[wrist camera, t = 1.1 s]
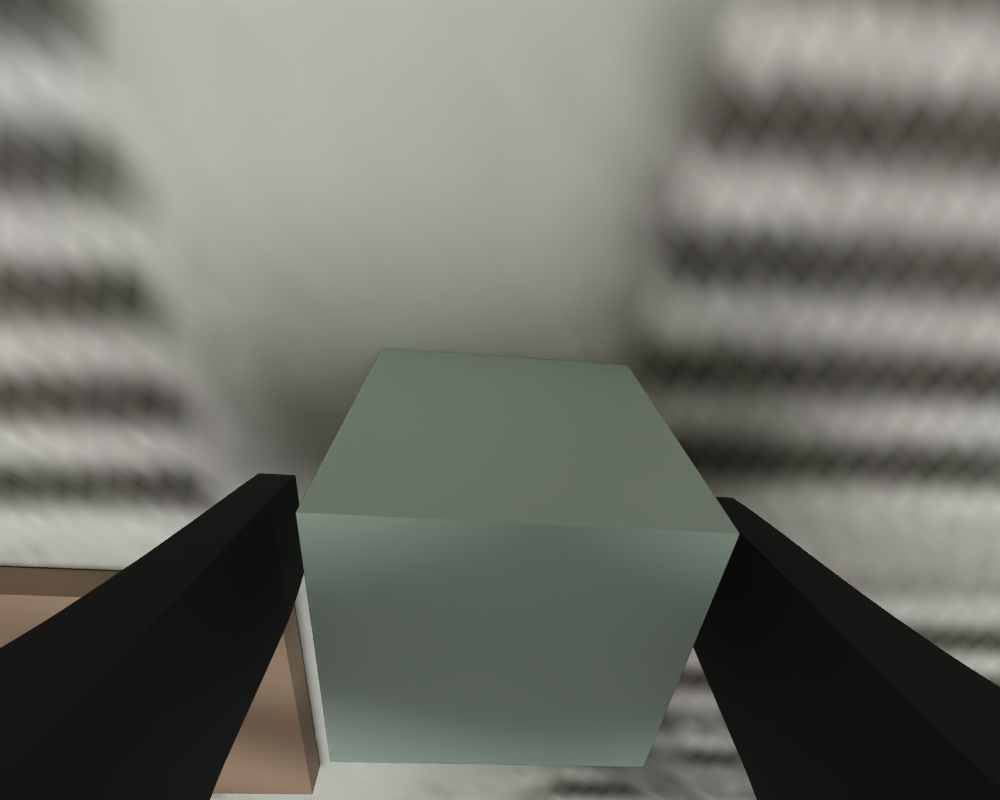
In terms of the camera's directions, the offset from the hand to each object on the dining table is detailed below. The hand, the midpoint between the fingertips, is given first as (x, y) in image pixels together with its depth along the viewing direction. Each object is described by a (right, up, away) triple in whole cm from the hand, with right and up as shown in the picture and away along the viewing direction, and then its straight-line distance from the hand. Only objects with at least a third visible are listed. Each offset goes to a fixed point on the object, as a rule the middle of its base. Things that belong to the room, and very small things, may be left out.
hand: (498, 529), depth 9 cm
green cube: (0, +1, +2) cm, 2 cm away
